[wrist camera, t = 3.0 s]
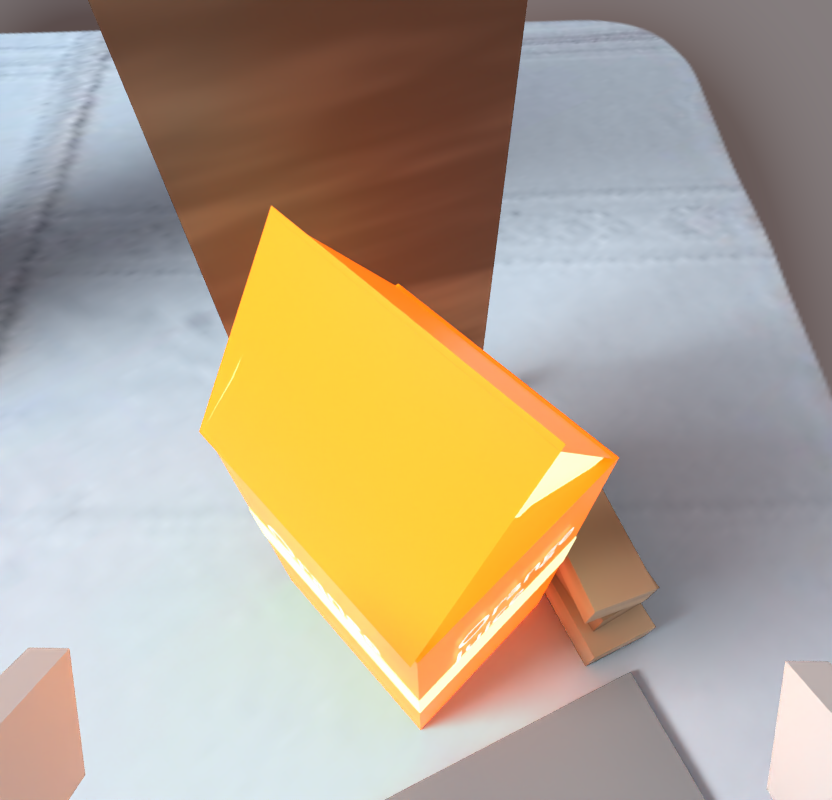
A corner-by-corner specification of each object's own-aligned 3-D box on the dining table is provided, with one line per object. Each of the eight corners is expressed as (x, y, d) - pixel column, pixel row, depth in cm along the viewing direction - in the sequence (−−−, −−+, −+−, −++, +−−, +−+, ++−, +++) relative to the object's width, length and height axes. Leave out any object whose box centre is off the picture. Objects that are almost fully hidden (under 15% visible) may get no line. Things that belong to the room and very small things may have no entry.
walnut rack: (261, 408, 35) (40, -133, 15) (464, 334, 38) (509, -214, 18) (394, 763, 26) (292, 609, 6) (649, 633, 29) (1184, 217, 9)
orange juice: (409, 476, 33) (393, 129, 16) (542, 602, 30) (697, 328, 13) (287, 582, 30) (113, 296, 13) (418, 735, 27) (408, 610, 10)
